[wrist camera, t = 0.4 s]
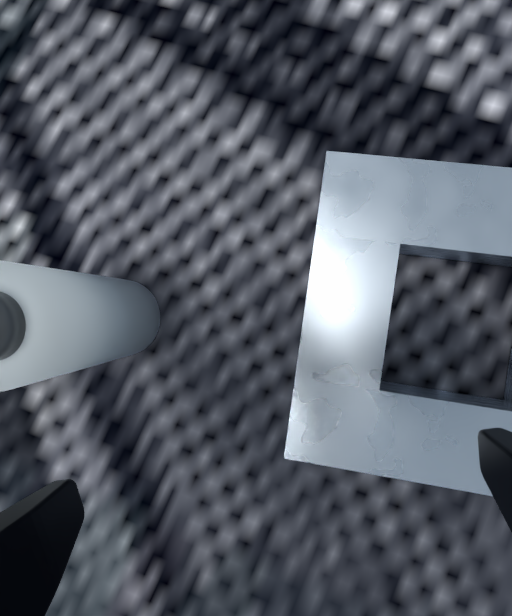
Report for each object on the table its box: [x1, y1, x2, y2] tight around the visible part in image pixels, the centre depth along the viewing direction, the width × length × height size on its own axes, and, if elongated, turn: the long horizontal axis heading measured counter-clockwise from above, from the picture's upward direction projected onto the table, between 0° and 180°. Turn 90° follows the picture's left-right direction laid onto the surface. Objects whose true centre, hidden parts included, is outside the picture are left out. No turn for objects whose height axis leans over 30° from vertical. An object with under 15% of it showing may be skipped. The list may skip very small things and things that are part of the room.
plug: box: [0, 260, 161, 391], centre depth 18 cm, size 4×4×11 cm
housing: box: [284, 151, 512, 496], centre depth 20 cm, size 15×15×3 cm
